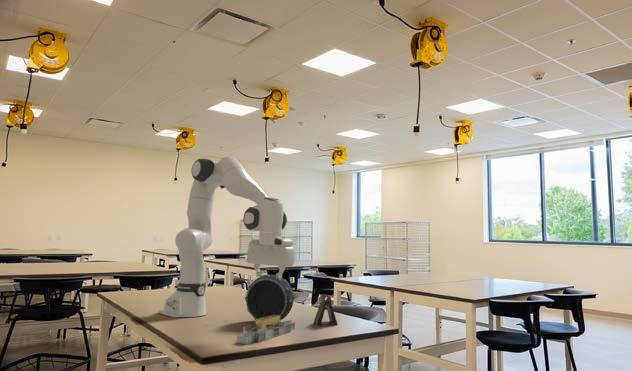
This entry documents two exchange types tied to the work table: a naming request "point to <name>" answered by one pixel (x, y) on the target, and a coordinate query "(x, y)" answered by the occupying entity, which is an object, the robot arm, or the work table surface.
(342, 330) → the work table surface
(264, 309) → the dark grey short cylinder
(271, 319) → the tan notched block
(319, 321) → the brown a-shaped stand
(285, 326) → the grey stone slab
